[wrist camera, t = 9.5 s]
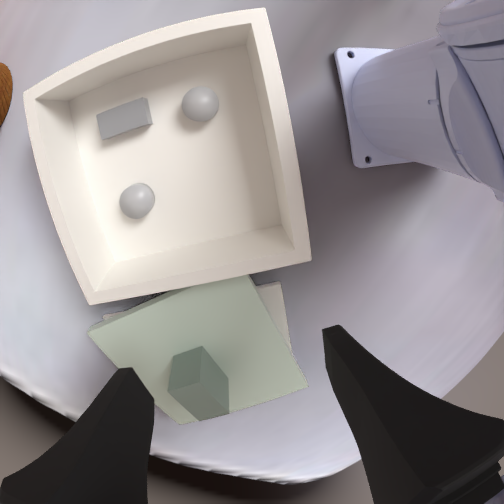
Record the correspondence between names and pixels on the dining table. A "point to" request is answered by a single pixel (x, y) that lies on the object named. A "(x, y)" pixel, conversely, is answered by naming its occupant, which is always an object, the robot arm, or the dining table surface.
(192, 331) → the lid
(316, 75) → the dining table surface
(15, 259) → the dining table surface
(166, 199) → the tub
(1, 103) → the disposable coffee cup
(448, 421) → the robot arm
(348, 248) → the dining table surface
